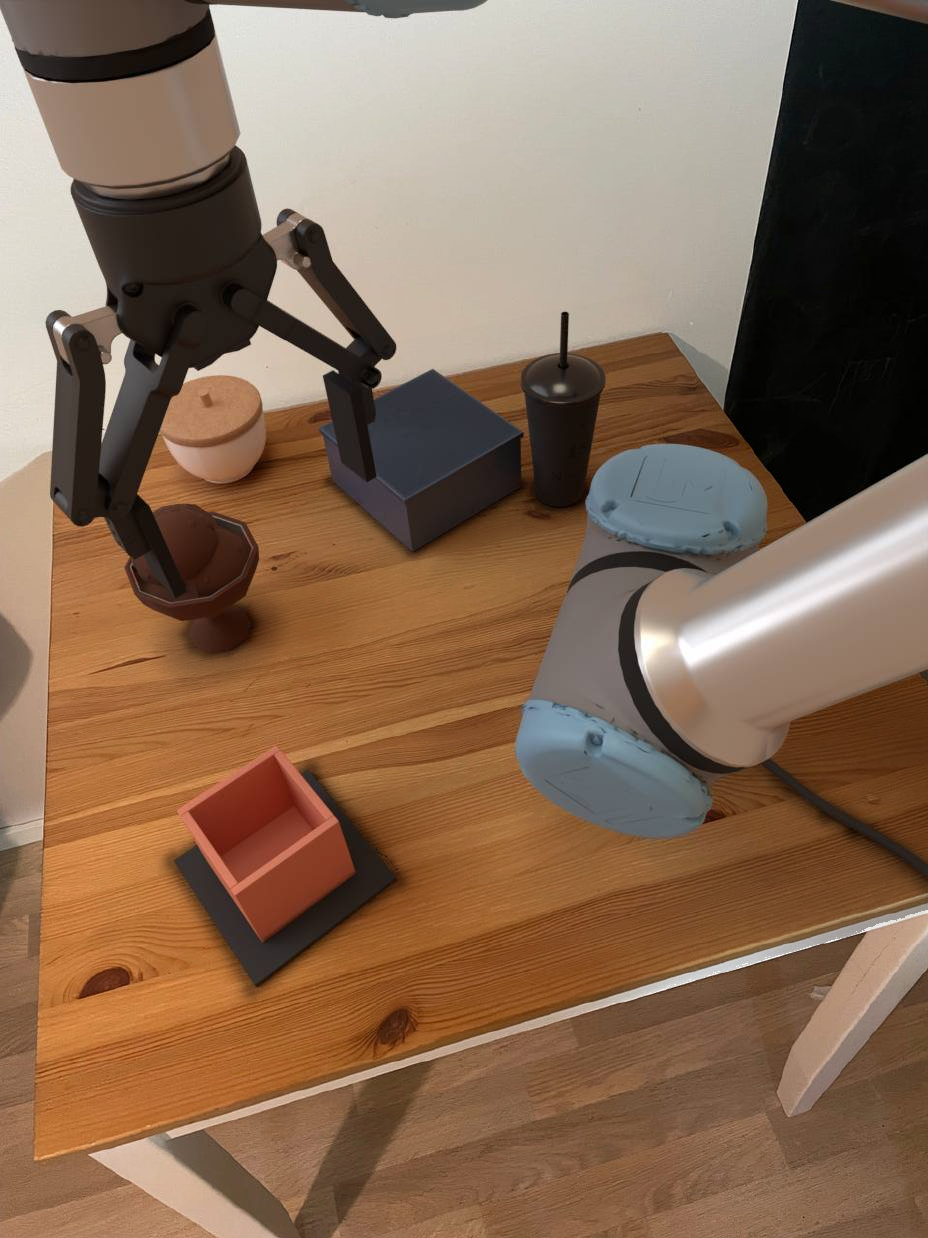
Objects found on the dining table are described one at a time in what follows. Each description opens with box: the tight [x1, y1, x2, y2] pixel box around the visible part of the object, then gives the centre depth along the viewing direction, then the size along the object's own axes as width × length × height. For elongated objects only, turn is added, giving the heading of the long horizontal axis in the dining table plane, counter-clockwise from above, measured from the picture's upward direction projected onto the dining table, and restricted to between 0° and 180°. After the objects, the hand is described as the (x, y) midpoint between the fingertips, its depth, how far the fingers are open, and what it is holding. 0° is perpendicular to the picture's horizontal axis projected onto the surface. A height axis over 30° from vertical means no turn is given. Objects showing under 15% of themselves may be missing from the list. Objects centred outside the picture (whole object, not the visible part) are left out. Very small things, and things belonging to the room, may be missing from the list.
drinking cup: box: [519, 311, 607, 508], centre depth 86 cm, size 8×8×20 cm
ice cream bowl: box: [123, 503, 260, 654], centre depth 78 cm, size 11×11×15 cm
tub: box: [176, 744, 356, 942], centre depth 65 cm, size 8×8×8 cm
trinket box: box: [159, 374, 267, 485], centre depth 96 cm, size 11×11×9 cm
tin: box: [318, 368, 525, 553], centre depth 93 cm, size 14×14×7 cm
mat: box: [173, 769, 398, 987], centre depth 68 cm, size 12×12×1 cm
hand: (269, 524), depth 55 cm, fingers open, 13 cm apart
